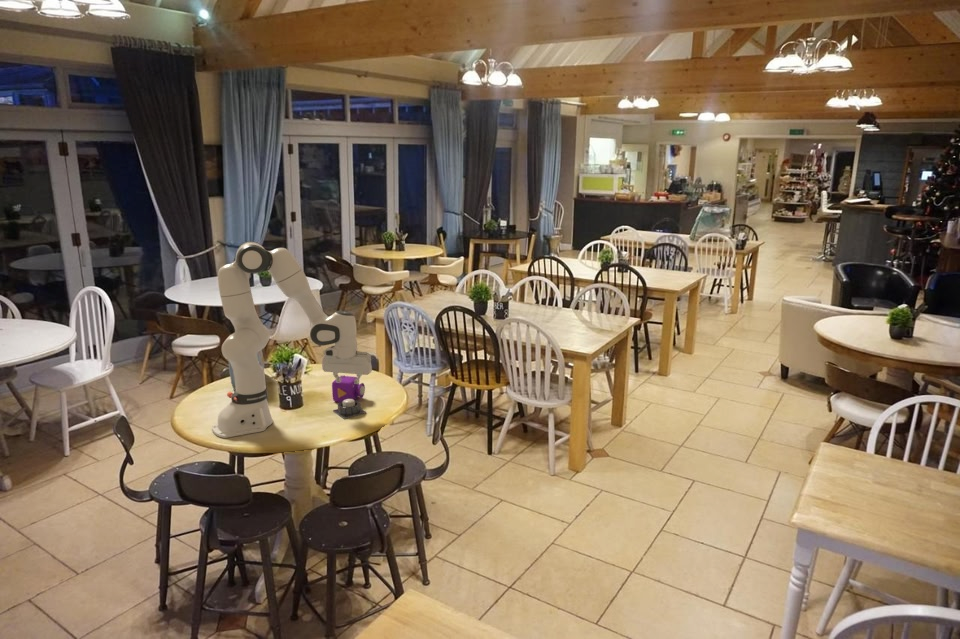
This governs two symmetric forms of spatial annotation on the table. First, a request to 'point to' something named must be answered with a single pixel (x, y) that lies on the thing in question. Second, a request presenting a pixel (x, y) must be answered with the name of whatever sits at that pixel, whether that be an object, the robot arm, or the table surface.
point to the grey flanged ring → (349, 410)
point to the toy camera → (347, 389)
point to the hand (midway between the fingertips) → (347, 383)
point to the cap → (348, 403)
